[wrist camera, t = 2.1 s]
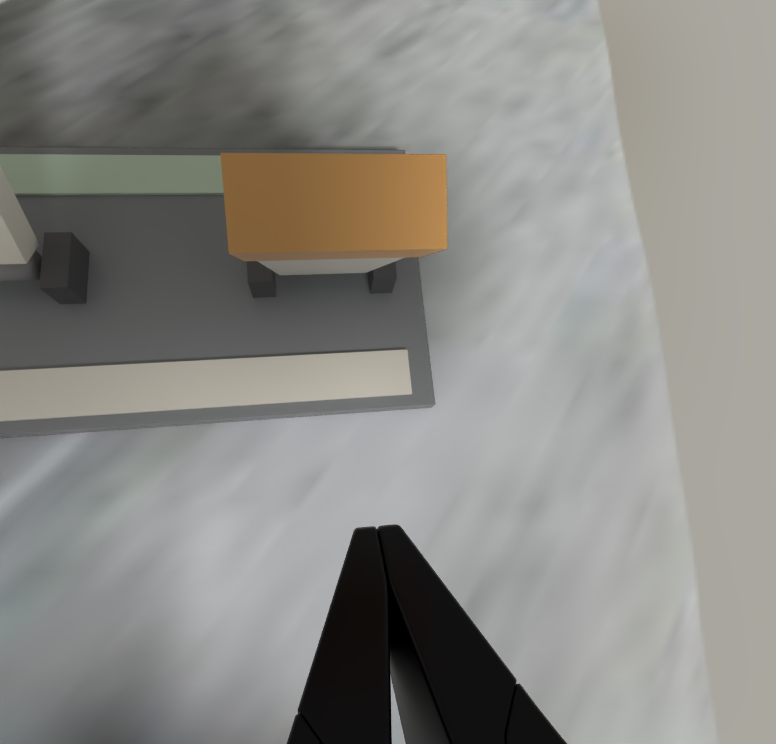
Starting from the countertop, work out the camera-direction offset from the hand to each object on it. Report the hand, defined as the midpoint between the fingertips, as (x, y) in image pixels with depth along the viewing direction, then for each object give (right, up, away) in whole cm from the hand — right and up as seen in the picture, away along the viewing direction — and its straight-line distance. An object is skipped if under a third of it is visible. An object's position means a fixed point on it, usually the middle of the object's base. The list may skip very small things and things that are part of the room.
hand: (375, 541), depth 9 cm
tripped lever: (-3, +8, +12) cm, 15 cm away
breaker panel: (-9, +7, +13) cm, 17 cm away
